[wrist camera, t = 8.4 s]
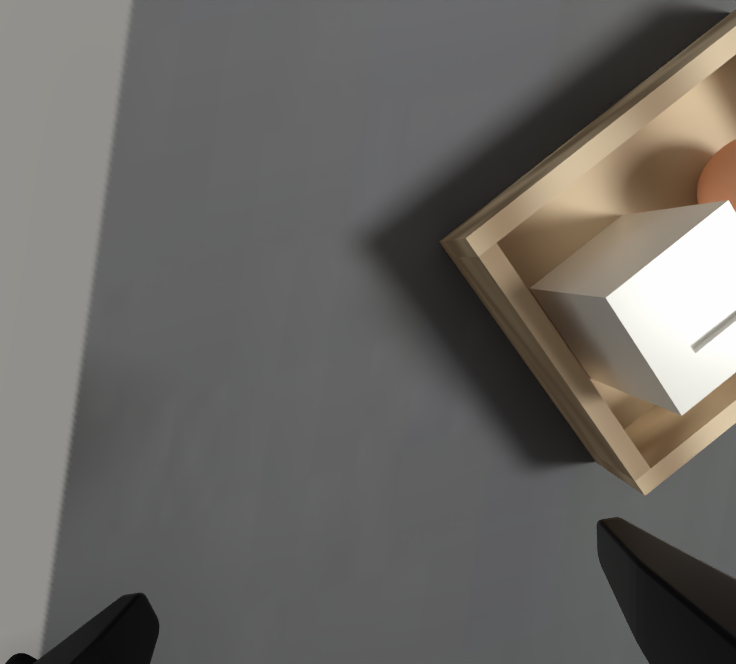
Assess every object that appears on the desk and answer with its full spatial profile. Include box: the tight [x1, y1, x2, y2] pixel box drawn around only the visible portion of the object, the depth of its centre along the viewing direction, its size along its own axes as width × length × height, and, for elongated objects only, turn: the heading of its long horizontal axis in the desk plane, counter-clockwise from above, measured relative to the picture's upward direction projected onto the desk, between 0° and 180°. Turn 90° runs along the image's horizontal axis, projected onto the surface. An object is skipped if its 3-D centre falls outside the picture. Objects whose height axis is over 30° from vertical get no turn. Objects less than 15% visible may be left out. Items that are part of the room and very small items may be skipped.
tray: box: [439, 10, 736, 495], centre depth 20 cm, size 16×13×3 cm
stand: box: [529, 200, 736, 416], centre depth 19 cm, size 5×5×6 cm
